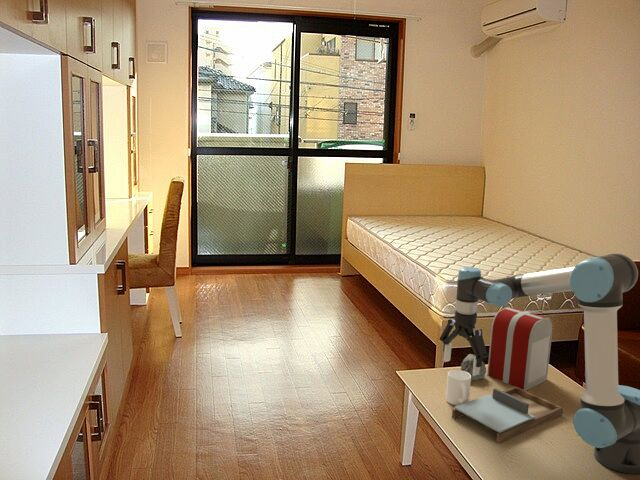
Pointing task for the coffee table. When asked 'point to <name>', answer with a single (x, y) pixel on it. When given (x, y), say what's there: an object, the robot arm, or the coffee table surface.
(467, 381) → the mug
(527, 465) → the coffee table surface
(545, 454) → the coffee table surface
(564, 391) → the coffee table surface
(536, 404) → the brown wooden frame
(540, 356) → the red striped arch block
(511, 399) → the lid
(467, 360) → the stone
